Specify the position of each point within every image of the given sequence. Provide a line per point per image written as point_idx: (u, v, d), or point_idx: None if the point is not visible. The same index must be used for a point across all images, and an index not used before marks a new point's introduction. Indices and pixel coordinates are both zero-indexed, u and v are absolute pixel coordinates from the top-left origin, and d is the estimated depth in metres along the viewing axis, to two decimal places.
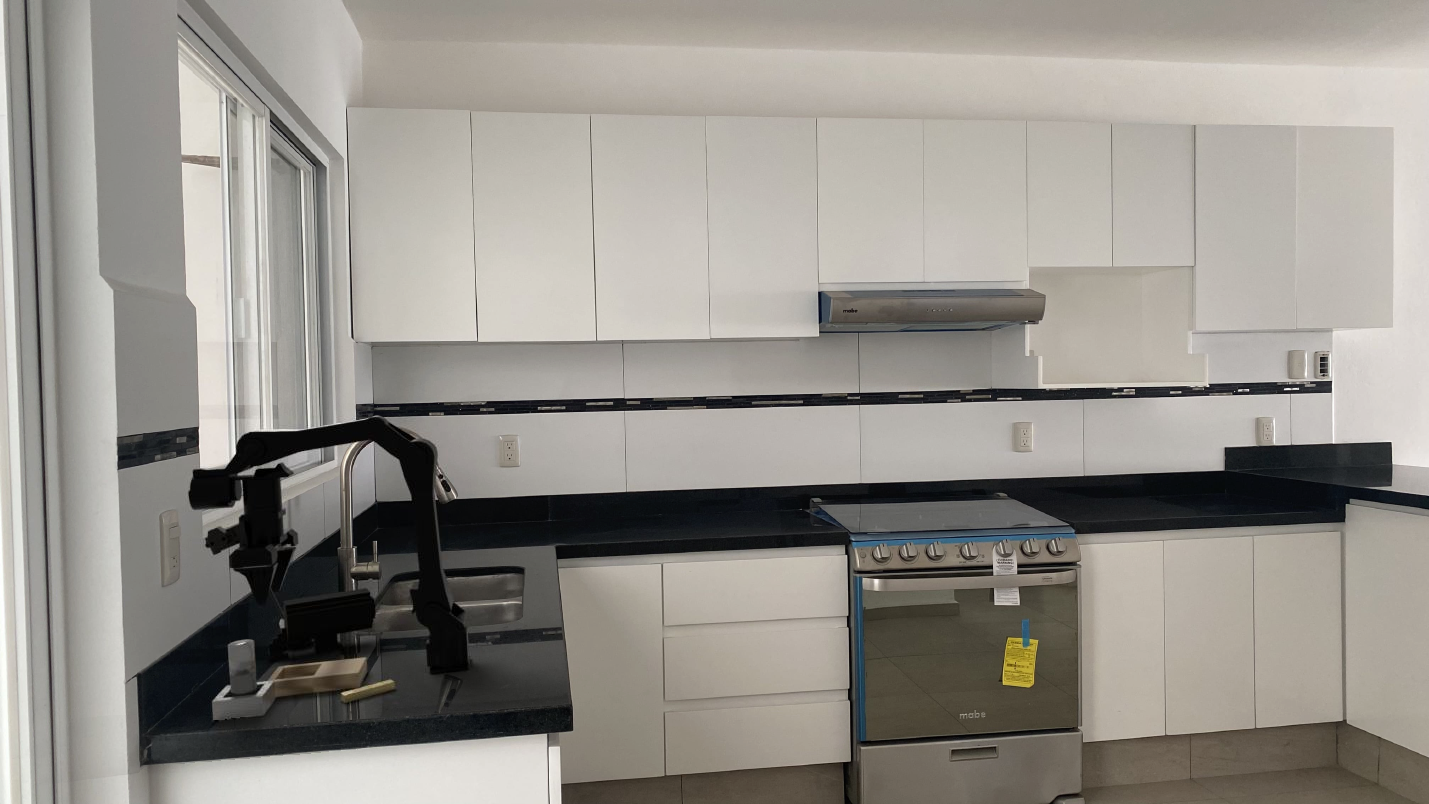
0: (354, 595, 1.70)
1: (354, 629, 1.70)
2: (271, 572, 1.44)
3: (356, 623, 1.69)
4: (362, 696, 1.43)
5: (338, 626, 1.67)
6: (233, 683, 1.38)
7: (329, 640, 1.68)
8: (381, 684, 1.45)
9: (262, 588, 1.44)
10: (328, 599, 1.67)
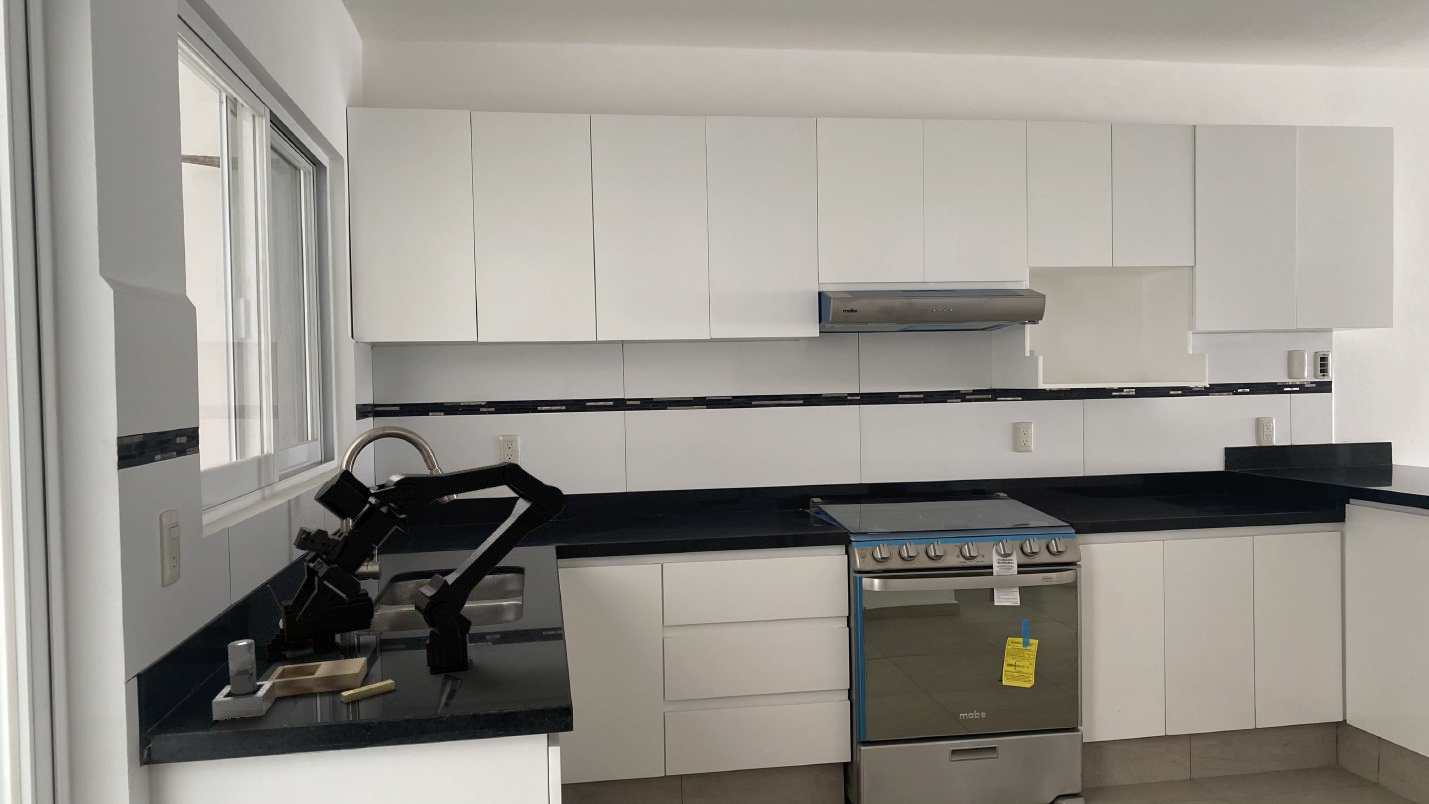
0: None
1: (352, 629, 1.70)
2: (338, 603, 1.40)
3: (354, 623, 1.68)
4: (362, 696, 1.43)
5: (336, 626, 1.67)
6: (233, 683, 1.38)
7: (327, 640, 1.68)
8: (381, 684, 1.45)
9: (316, 610, 1.40)
10: None
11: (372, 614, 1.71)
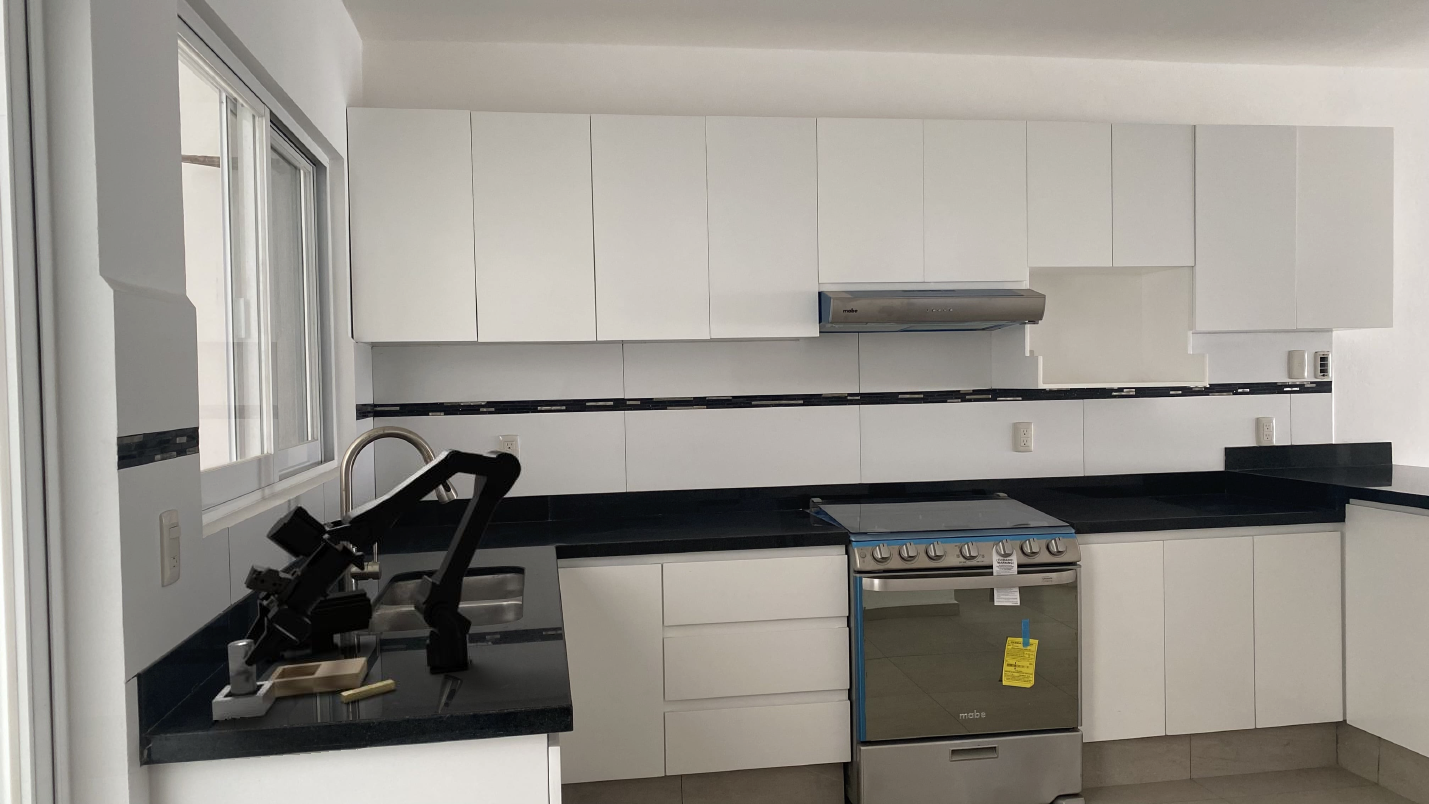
0: (350, 596, 1.69)
1: (350, 630, 1.69)
2: (288, 645, 1.37)
3: (352, 624, 1.68)
4: (362, 696, 1.43)
5: (334, 627, 1.67)
6: (233, 683, 1.38)
7: (326, 640, 1.68)
8: (381, 684, 1.45)
9: (266, 652, 1.36)
10: (324, 600, 1.67)
11: (370, 614, 1.71)
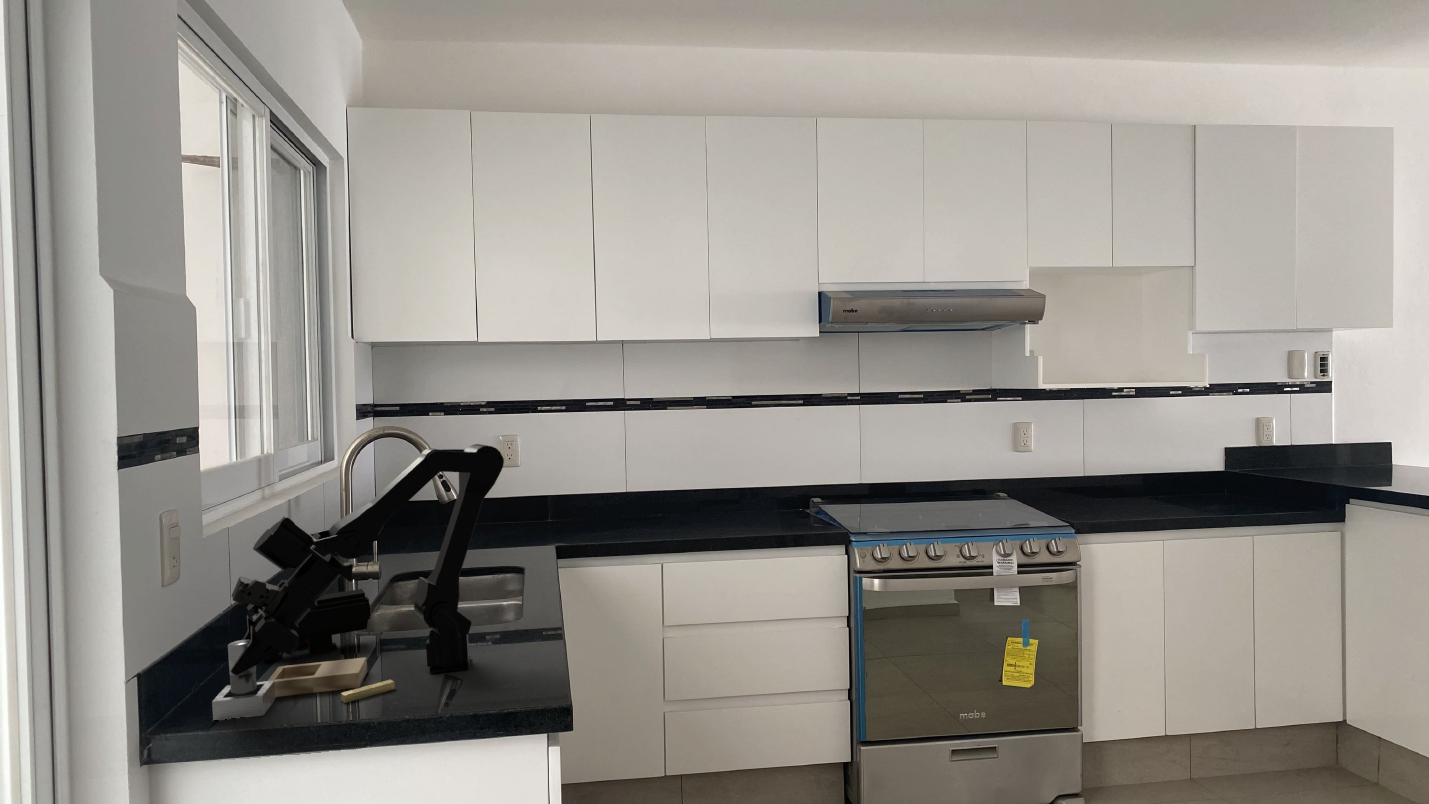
0: (349, 596, 1.69)
1: (349, 630, 1.69)
2: (274, 654, 1.38)
3: (351, 624, 1.68)
4: (362, 696, 1.43)
5: (333, 627, 1.66)
6: (233, 683, 1.38)
7: (324, 641, 1.68)
8: (381, 684, 1.45)
9: (252, 660, 1.37)
10: (322, 600, 1.67)
11: (369, 615, 1.71)
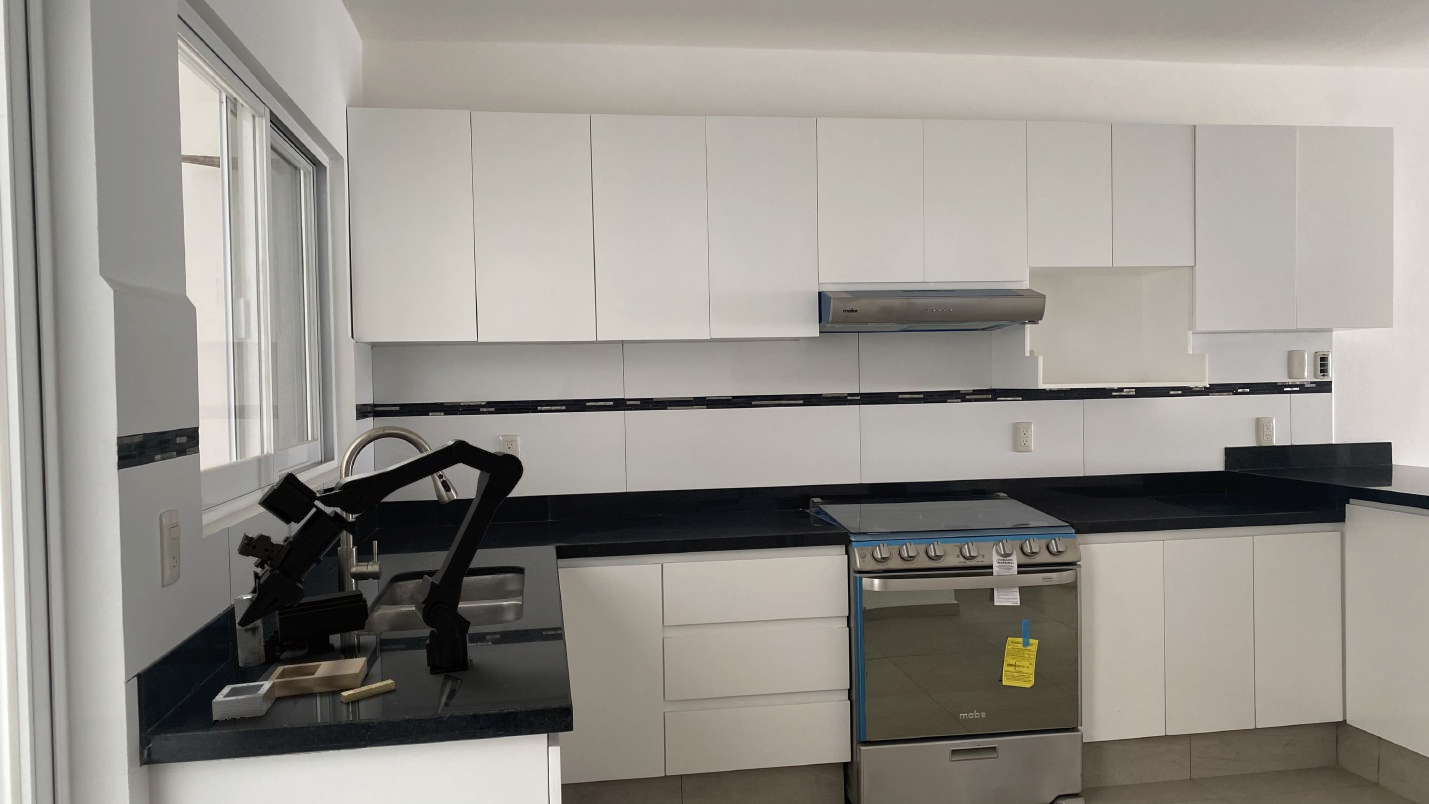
0: (346, 596, 1.69)
1: (346, 630, 1.69)
2: (280, 607, 1.40)
3: (348, 624, 1.68)
4: (362, 696, 1.43)
5: (330, 627, 1.66)
6: (240, 636, 1.39)
7: (321, 641, 1.68)
8: (381, 684, 1.45)
9: (258, 613, 1.39)
10: (320, 600, 1.67)
11: (366, 615, 1.71)
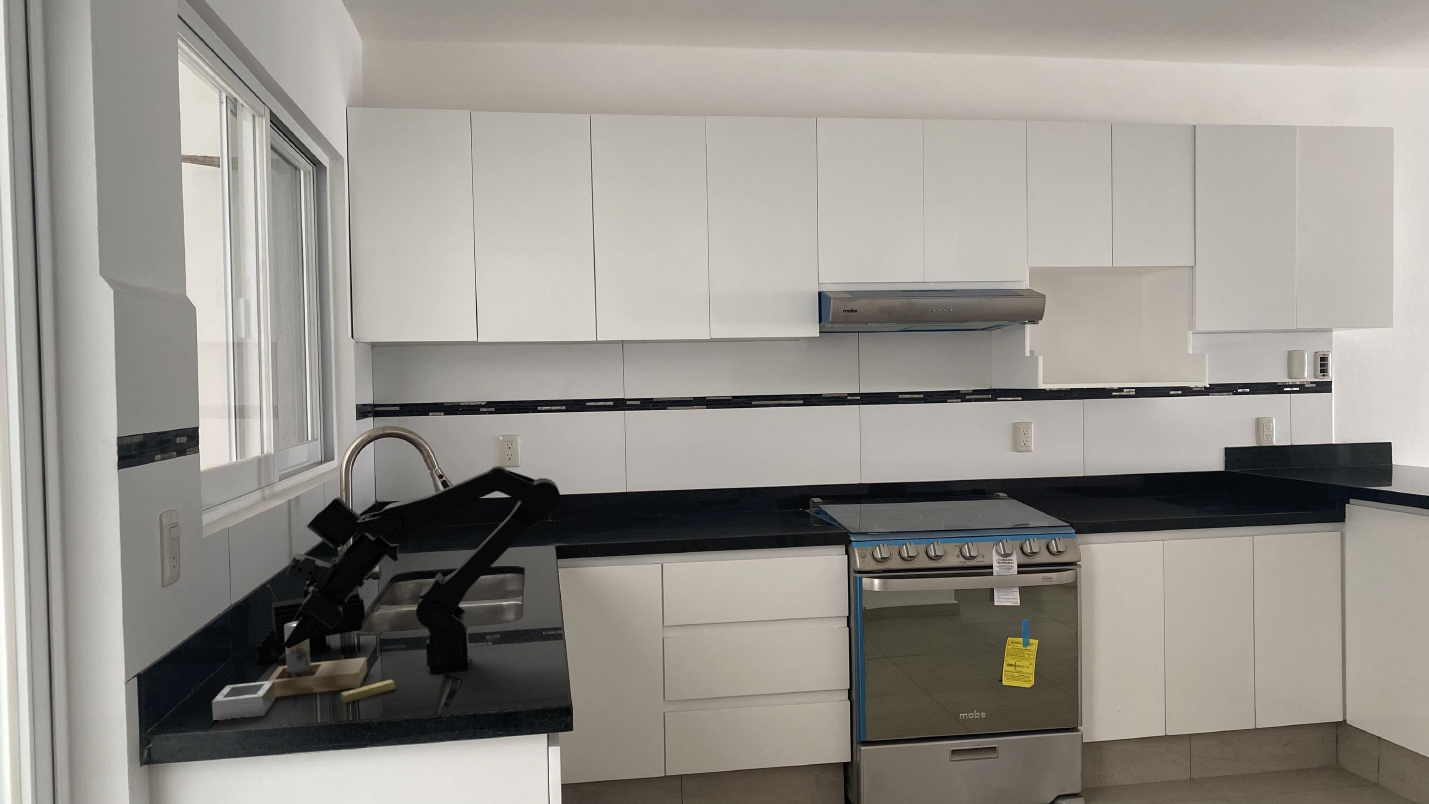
0: None
1: (343, 631, 1.69)
2: (323, 630, 1.45)
3: (345, 625, 1.67)
4: (362, 696, 1.43)
5: None
6: (288, 661, 1.48)
7: (318, 642, 1.67)
8: (381, 684, 1.45)
9: (302, 635, 1.45)
10: None
11: (363, 616, 1.71)
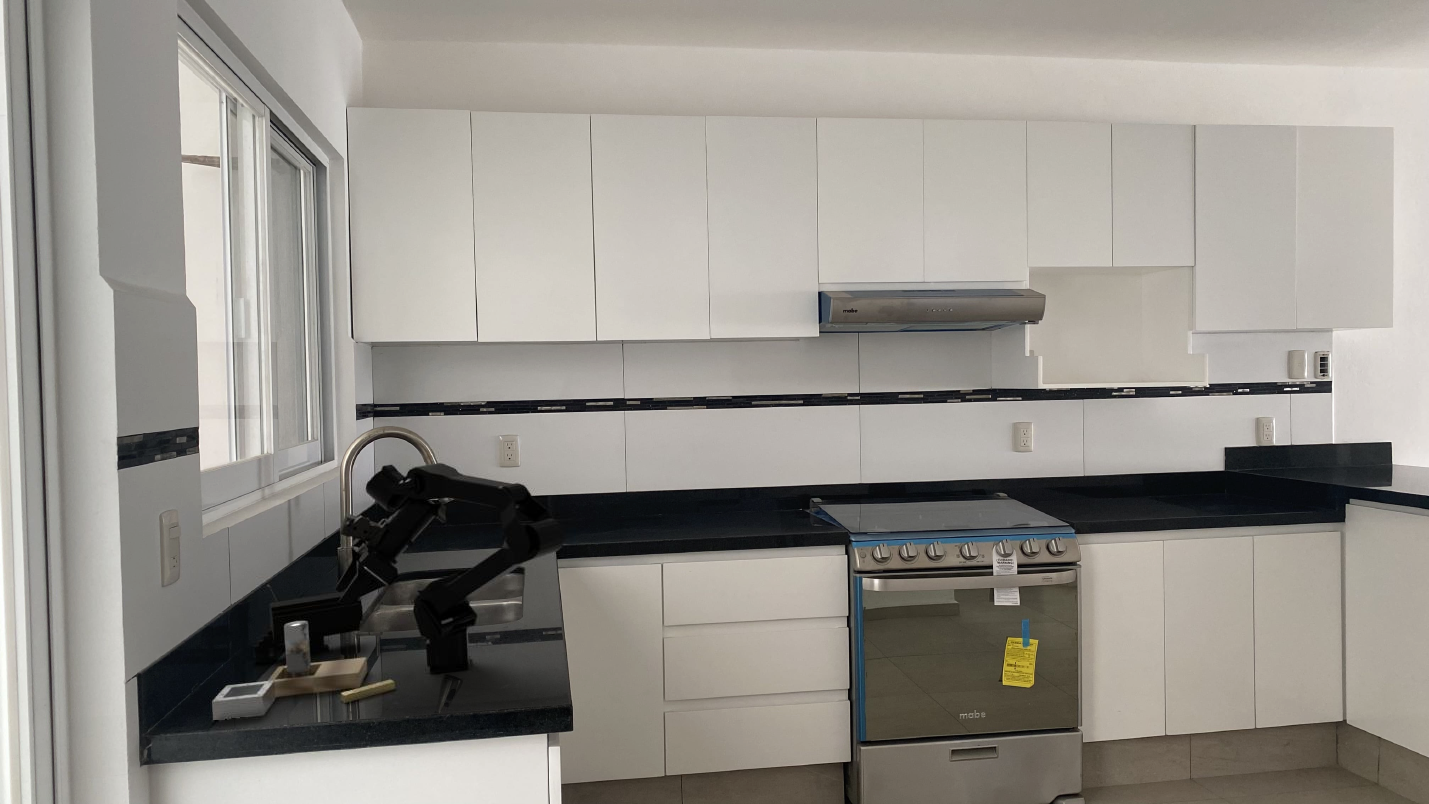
0: None
1: (341, 631, 1.69)
2: (377, 587, 1.50)
3: (343, 625, 1.67)
4: (362, 696, 1.43)
5: (324, 628, 1.66)
6: (288, 661, 1.48)
7: (316, 642, 1.67)
8: (381, 684, 1.45)
9: (357, 592, 1.49)
10: (314, 601, 1.66)
11: (361, 616, 1.70)
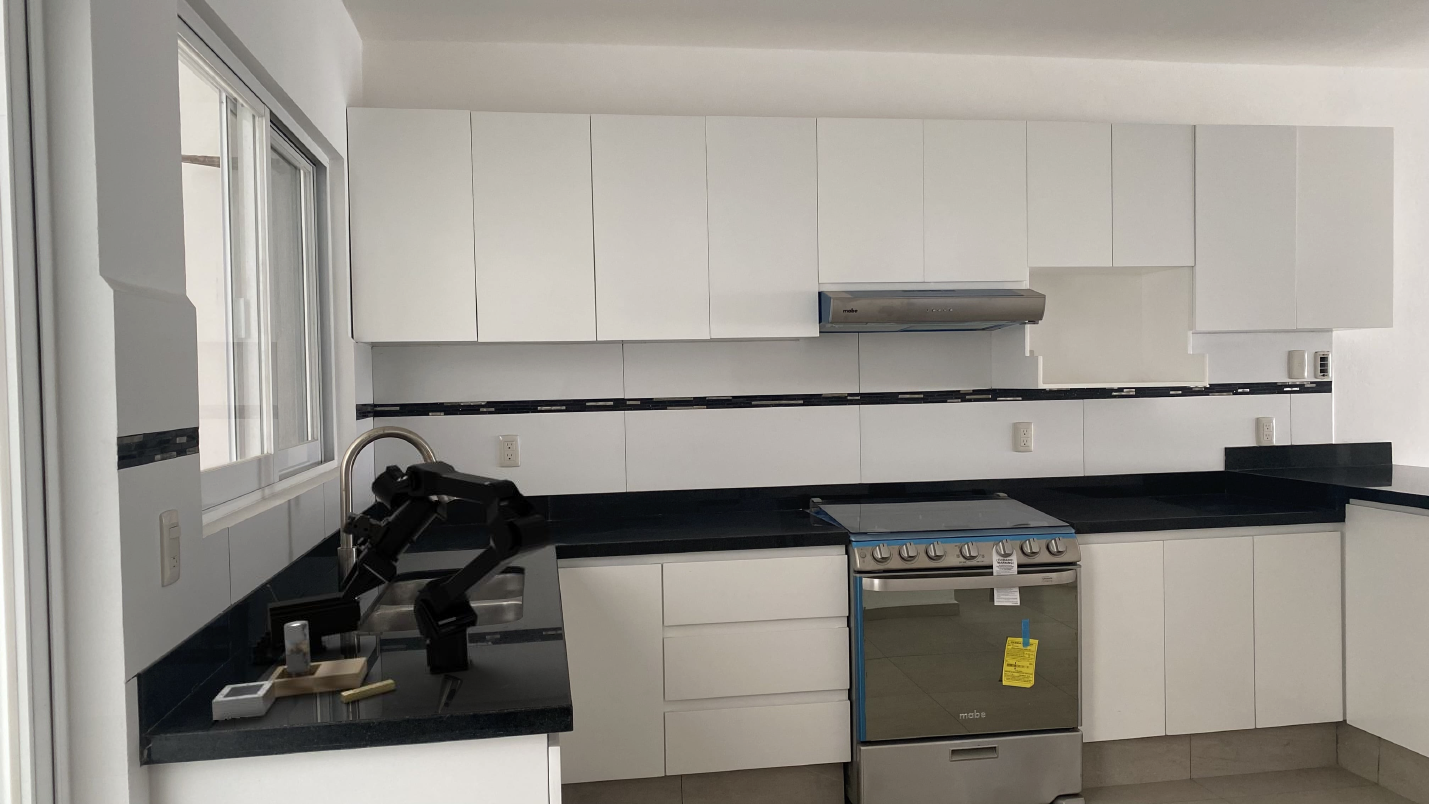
0: (339, 597, 1.68)
1: (339, 632, 1.68)
2: (377, 585, 1.51)
3: (341, 626, 1.67)
4: (362, 696, 1.43)
5: (322, 629, 1.66)
6: (288, 661, 1.48)
7: (314, 643, 1.67)
8: (381, 684, 1.45)
9: (358, 590, 1.51)
10: (312, 601, 1.66)
11: (359, 616, 1.70)
